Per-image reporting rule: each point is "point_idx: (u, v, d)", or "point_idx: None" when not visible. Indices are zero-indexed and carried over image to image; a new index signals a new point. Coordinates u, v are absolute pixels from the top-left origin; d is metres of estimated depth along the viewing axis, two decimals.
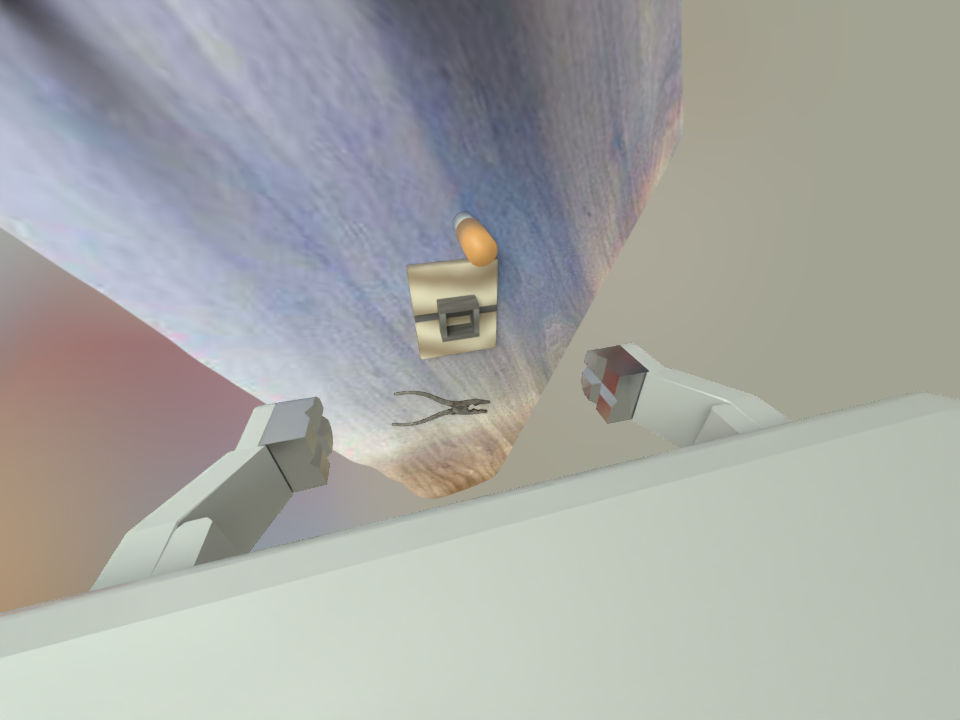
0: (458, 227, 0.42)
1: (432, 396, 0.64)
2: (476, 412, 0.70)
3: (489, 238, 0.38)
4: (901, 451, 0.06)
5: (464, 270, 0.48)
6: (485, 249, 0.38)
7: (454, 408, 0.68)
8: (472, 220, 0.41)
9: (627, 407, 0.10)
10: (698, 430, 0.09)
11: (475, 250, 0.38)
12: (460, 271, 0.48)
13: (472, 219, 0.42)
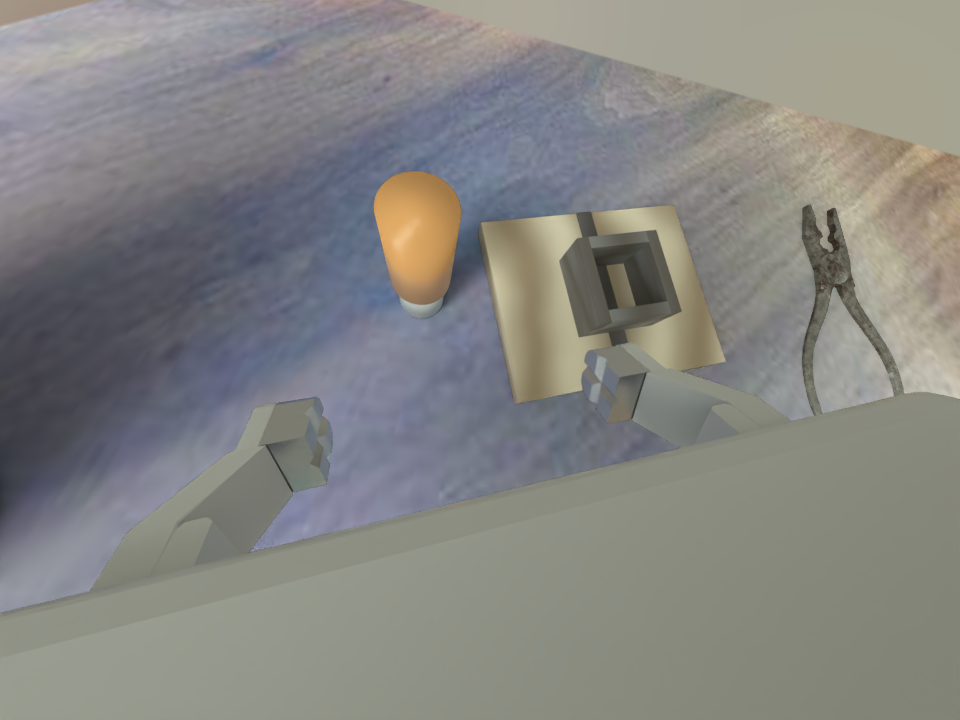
0: (408, 298, 0.19)
1: (812, 331, 0.28)
2: (839, 231, 0.31)
3: (380, 193, 0.14)
4: (901, 451, 0.06)
5: (509, 285, 0.23)
6: (411, 201, 0.14)
7: (836, 280, 0.30)
8: None
9: (627, 407, 0.10)
10: (698, 430, 0.09)
11: (416, 226, 0.14)
12: (513, 293, 0.23)
13: None
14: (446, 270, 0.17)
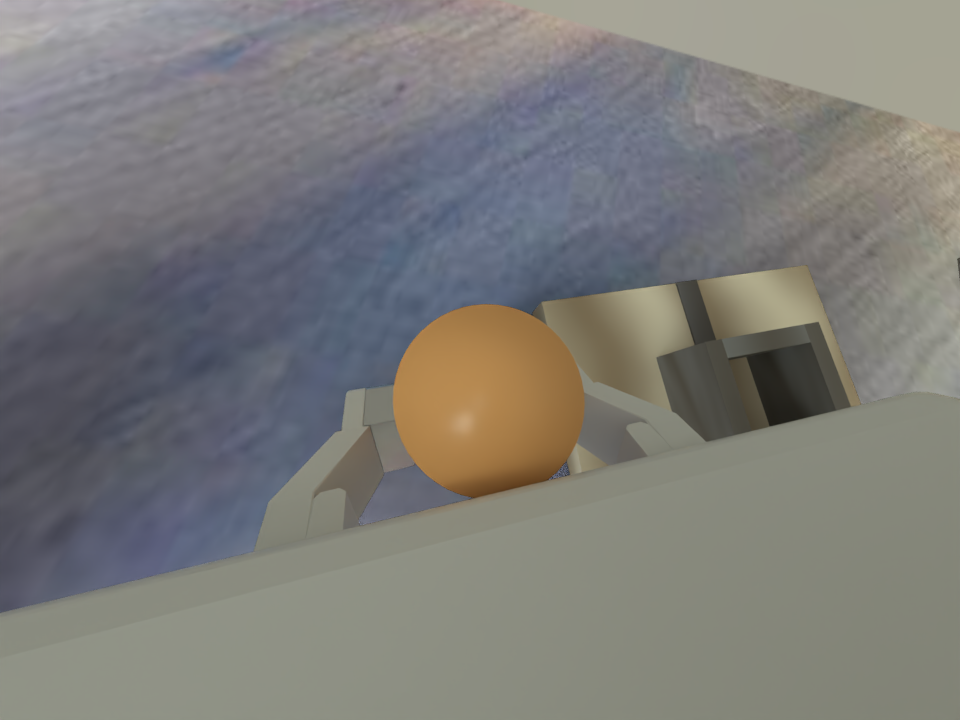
0: None
1: None
2: None
3: (408, 365, 0.06)
4: (901, 451, 0.06)
5: None
6: (477, 378, 0.06)
7: None
8: None
9: None
10: None
11: (489, 442, 0.06)
12: None
13: None
14: None
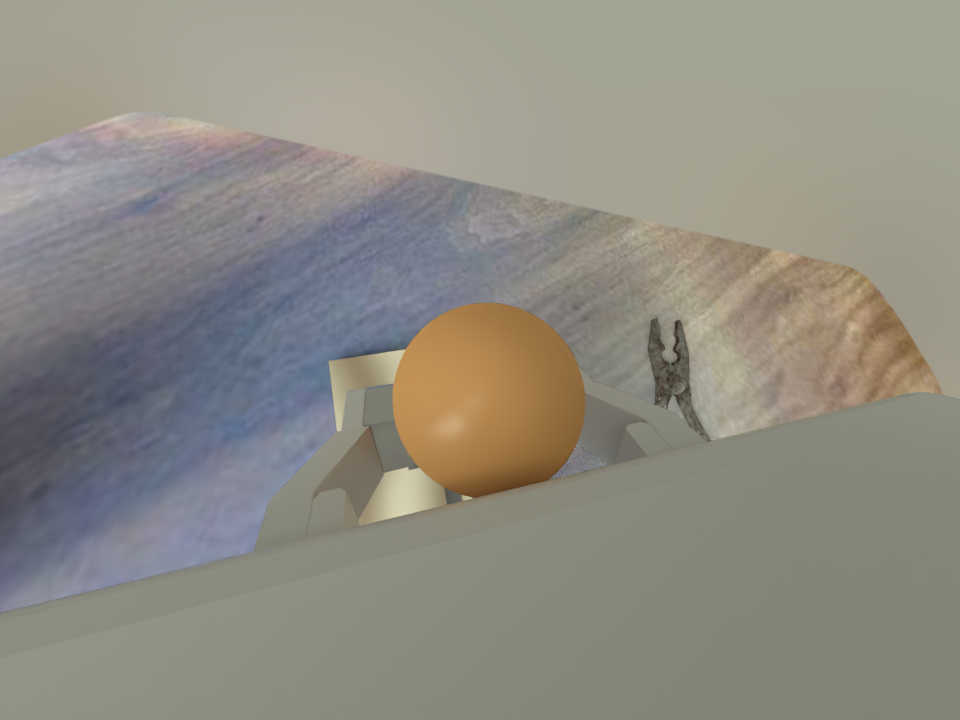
0: None
1: None
2: (682, 342, 0.34)
3: (407, 364, 0.06)
4: (902, 451, 0.06)
5: None
6: (477, 377, 0.06)
7: (674, 391, 0.33)
8: None
9: None
10: None
11: (489, 441, 0.06)
12: None
13: None
14: None
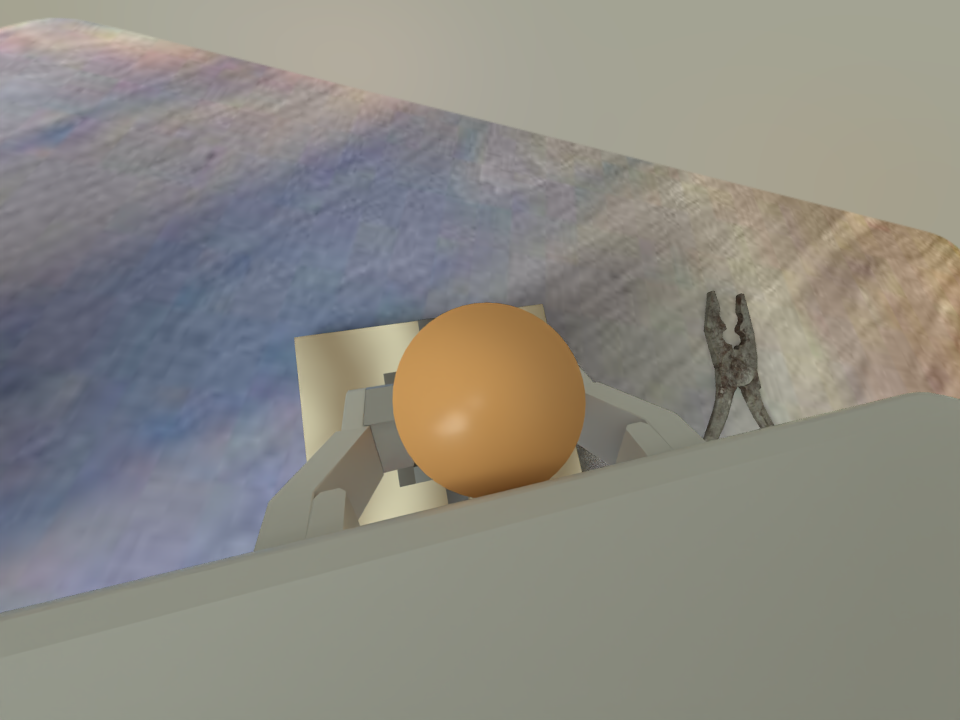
0: None
1: None
2: (746, 321, 0.27)
3: (407, 364, 0.06)
4: (901, 451, 0.06)
5: (321, 416, 0.20)
6: (477, 377, 0.06)
7: (739, 381, 0.26)
8: None
9: None
10: None
11: (489, 441, 0.06)
12: (324, 427, 0.20)
13: None
14: None
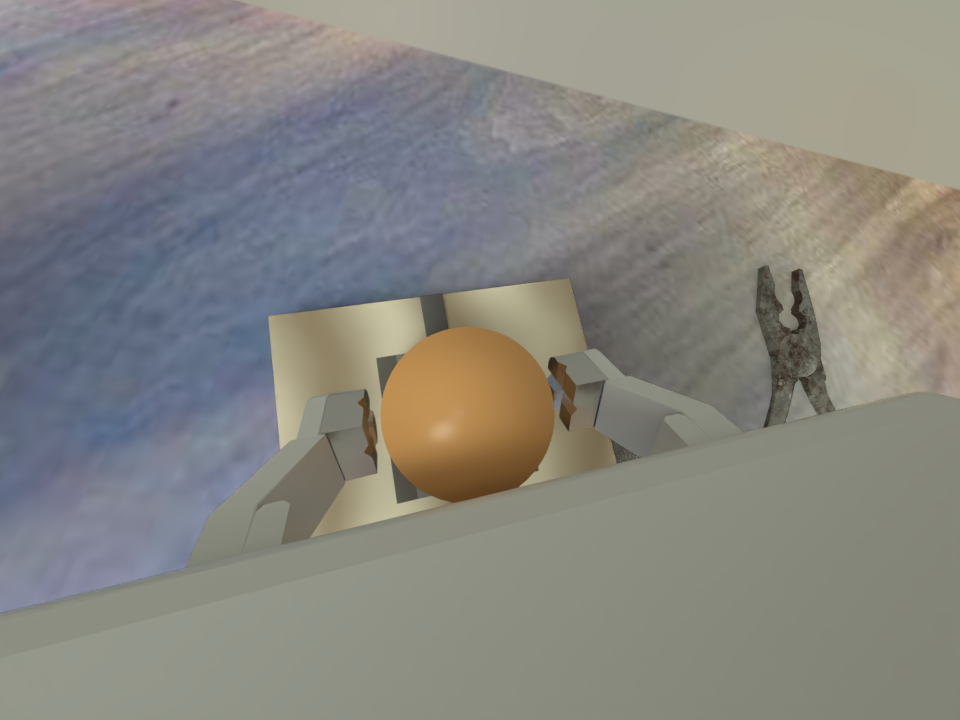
0: None
1: None
2: (806, 301, 0.23)
3: (394, 384, 0.07)
4: (901, 451, 0.06)
5: (301, 413, 0.16)
6: (456, 395, 0.07)
7: (801, 371, 0.22)
8: None
9: (588, 415, 0.10)
10: (656, 440, 0.09)
11: (466, 452, 0.07)
12: None
13: None
14: None
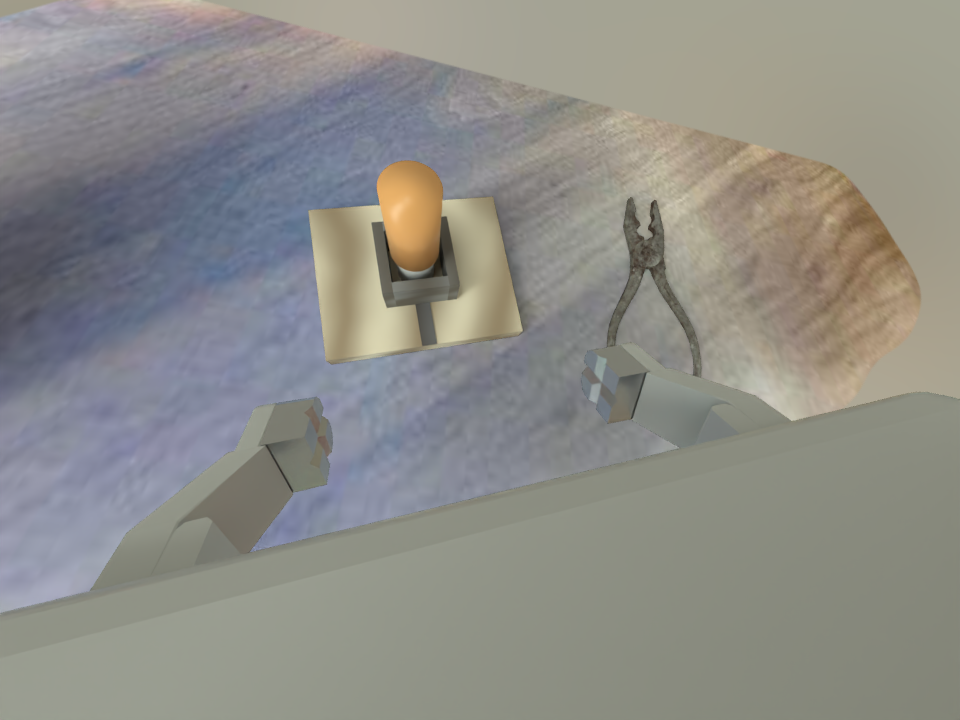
0: (404, 265, 0.24)
1: (619, 308, 0.32)
2: (657, 220, 0.35)
3: (382, 177, 0.19)
4: (902, 451, 0.06)
5: (328, 263, 0.28)
6: (405, 183, 0.19)
7: (648, 263, 0.33)
8: None
9: (627, 407, 0.10)
10: (698, 430, 0.09)
11: (408, 201, 0.19)
12: (330, 270, 0.27)
13: None
14: (433, 240, 0.22)
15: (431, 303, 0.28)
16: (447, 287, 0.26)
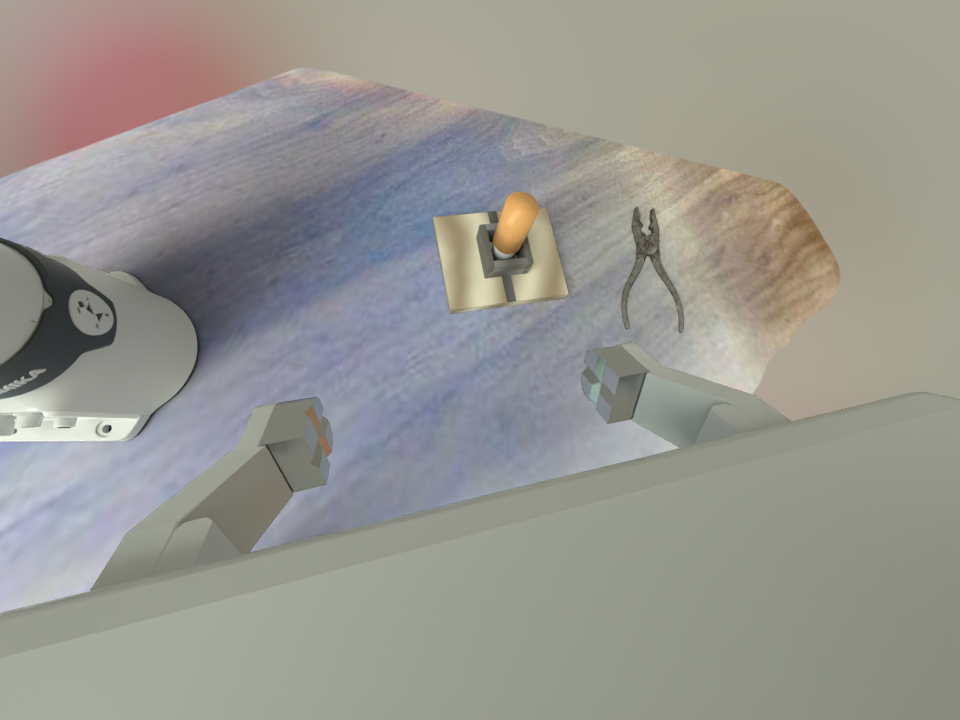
0: (503, 250, 0.40)
1: (629, 281, 0.48)
2: (654, 222, 0.51)
3: (507, 200, 0.35)
4: (902, 451, 0.06)
5: (447, 250, 0.44)
6: (519, 203, 0.35)
7: (648, 251, 0.50)
8: (494, 236, 0.40)
9: (627, 407, 0.10)
10: (698, 430, 0.09)
11: (521, 214, 0.35)
12: (449, 255, 0.44)
13: (494, 237, 0.40)
14: (526, 235, 0.38)
15: (511, 275, 0.44)
16: (525, 264, 0.42)
